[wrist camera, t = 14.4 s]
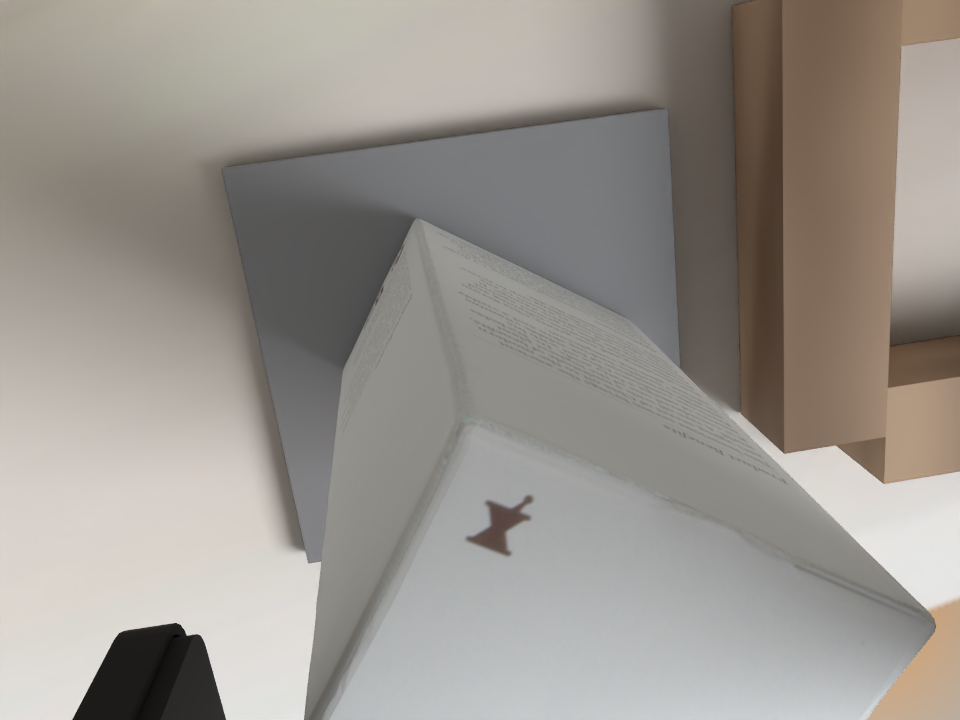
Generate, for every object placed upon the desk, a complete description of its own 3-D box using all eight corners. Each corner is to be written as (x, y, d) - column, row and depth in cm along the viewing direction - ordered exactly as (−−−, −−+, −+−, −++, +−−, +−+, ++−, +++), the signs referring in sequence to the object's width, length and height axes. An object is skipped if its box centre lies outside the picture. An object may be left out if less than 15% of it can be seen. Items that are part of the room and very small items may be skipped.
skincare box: (337, 373, 20) (276, 753, 9) (414, 211, 19) (460, 399, 8) (558, 467, 21) (755, 899, 10) (640, 321, 20) (963, 617, 9)
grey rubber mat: (661, 108, 19) (667, 109, 19) (680, 491, 22) (686, 500, 22) (225, 166, 19) (221, 169, 18) (310, 553, 22) (308, 563, 21)
